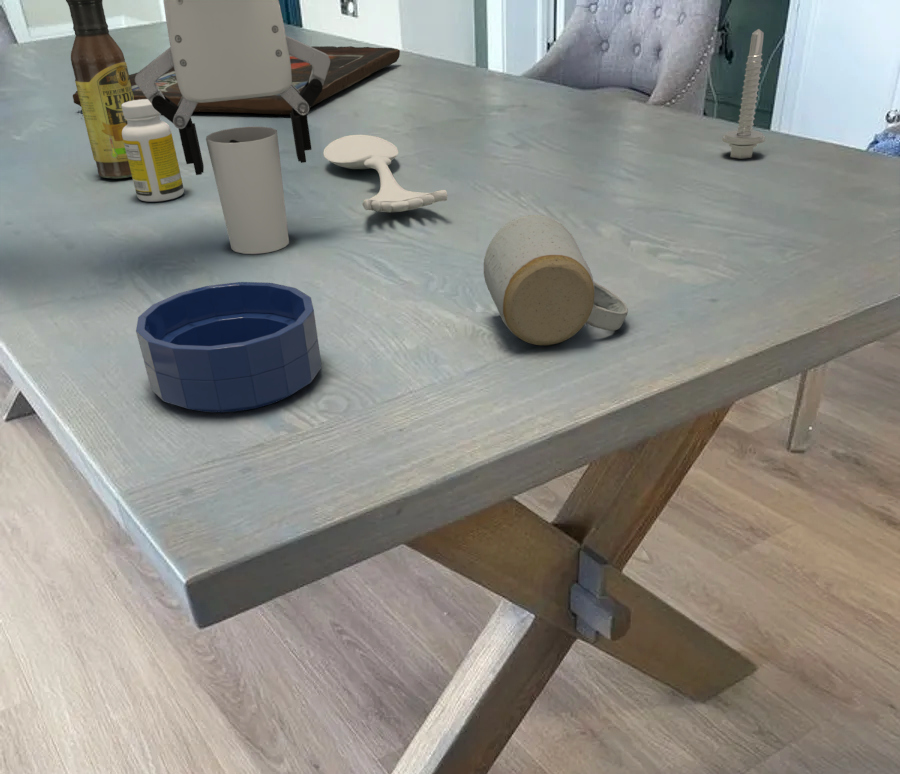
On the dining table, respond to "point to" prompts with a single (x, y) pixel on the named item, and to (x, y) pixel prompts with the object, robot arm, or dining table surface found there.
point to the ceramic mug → (546, 283)
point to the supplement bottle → (150, 153)
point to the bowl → (230, 346)
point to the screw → (748, 104)
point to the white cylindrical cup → (250, 187)
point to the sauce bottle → (101, 86)
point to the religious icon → (341, 74)
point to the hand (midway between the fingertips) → (251, 165)
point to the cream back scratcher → (378, 156)
